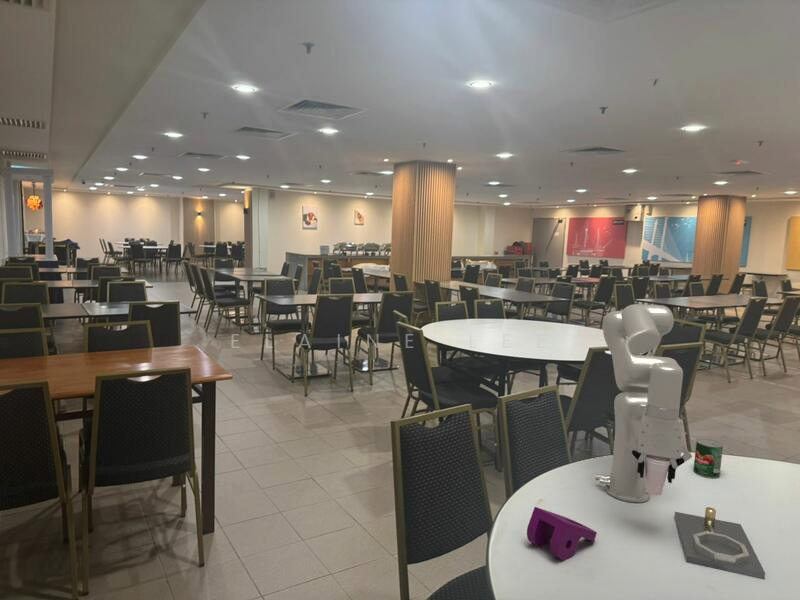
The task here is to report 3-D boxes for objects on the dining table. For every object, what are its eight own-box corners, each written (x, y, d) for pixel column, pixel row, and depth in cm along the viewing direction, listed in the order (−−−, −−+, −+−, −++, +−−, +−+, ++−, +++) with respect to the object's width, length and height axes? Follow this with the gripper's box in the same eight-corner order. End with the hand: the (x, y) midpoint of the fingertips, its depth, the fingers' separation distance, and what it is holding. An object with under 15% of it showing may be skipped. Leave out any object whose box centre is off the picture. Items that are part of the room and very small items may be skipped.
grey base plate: (686, 561, 129) (688, 540, 128) (674, 516, 151) (676, 497, 150) (764, 579, 123) (767, 556, 122) (740, 529, 145) (742, 510, 145)
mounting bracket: (561, 550, 142) (522, 539, 132) (572, 519, 144) (534, 506, 133) (593, 568, 135) (554, 558, 124) (603, 535, 136) (566, 523, 126)
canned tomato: (691, 474, 182) (694, 442, 181) (695, 467, 188) (698, 436, 187) (718, 481, 177) (721, 448, 176) (721, 473, 183) (724, 442, 182)
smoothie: (644, 483, 145) (650, 433, 143) (670, 491, 141) (676, 440, 139) (637, 491, 140) (643, 440, 138) (663, 500, 136) (670, 447, 134)
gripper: (626, 410, 137) (619, 477, 139) (702, 421, 131) (694, 491, 133) (625, 402, 144) (619, 466, 146) (697, 412, 138) (690, 478, 140)
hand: (655, 477), depth 140 cm, fingers closed on smoothie, 6 cm apart
